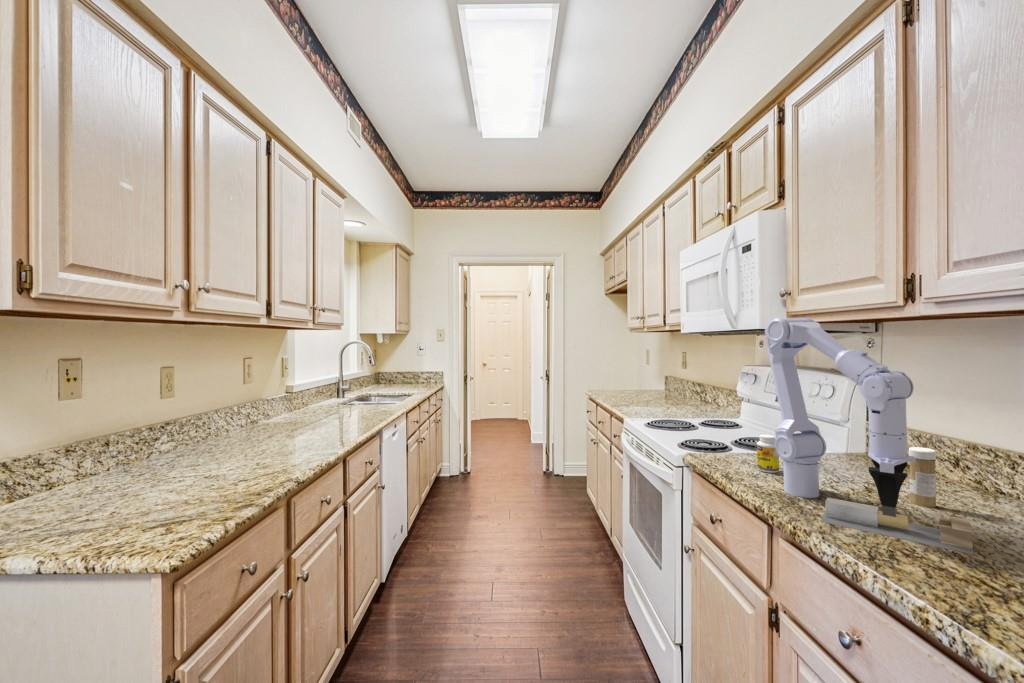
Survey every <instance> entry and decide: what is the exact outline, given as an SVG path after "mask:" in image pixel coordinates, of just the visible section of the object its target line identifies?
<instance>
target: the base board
mask: <svg viewBox="0 0 1024 683" xmlns="http://www.w3.org/2000/svg"><path fill="white" fill-rule="evenodd" d="M820 522H821V523H825V524H830V525H834V526H838V527H844V528H848V529H853V530H858V531H863V532H866V533H872V534H876V535H881V536H885V537H889V538H895V539H899V540H904V541H909V542H912V543H918V544H923V545H927V546H931V547H936V548H940V549H945V550H949V551H955V552H959V553H963V554H969V555H975V553H974V550H973V549H974V548H973V549H969V548H964V547H960V546H955V545H950V544H945V543H941V538H940V528H937V527H932V526H927V525H921V524H916V523H912V522H908V530H906V529H902V528H897V527H892V526H887V525H882V524H878V528H877V527H872V526H868V525H863V524H858V523H853V522H848V521H844V520H839V519H834V518H829V517H826V510H825V509H824V512H823V514H822V517H821V519H820Z"/></svg>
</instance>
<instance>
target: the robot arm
mask: <svg viewBox="0 0 1024 683" xmlns="http://www.w3.org/2000/svg"><path fill="white" fill-rule="evenodd" d="M764 335H765V339H766V345H767V355H768V356H767V357H768V360H769V364H770V371H771V373H772V374H771V375H772V379H773V383H774V387H775V393H776V397H777V401H778V405H779V409H780V417H781V418H782V419H781V420H782V422H781V423H780V424H779V425H778V426H777V427H776V428H775V429H774V433H775V448H776V451H777V453H778V454H779V458H780V460H782V461H783V464H782V466H783V491H784V493H786V494H789V495H791V496H794V497H798V498H804V499H805V498H807V499H815V498H818V497H819V496H820V476H819V475H820V473H819V471H820V469H819V462H821V458H822V457H824V455H825V454H826V452H827V443H826V440H825V438H823V436H822V434H821V431H820V429H819V425H818V426H817V424H815V423H814V422H812V421H811V420H810V419H809V417H808V412H807V408H806V404H805V399H804V396H803V395H804V394H803V391H802V387H801V383H800V378H799V372H798V369H797V365H796V360H795V357H796V356H797V354H798V353H799V352H800V351H802V350H803V349H804V348H805V347H806V346H808V345H809V346H811V347H813V348H814V349H816V350H817V351H819V352H820V353H822V354H823V355H826V356H827V357H828V358H830V359H832V360H833V361H835V368H836V370H838V371H839V372H840V373H842V374H843V375H844V376H846V377H847V379H850V381H852V382H853V383H855V384H856V385H857V386H859V389H860V393H861V395H862V396H863V397H864V399H865V403H866V404H865V405H866V407H867V409H868V439H869V440H868V441H869V443H868V444H869V446H868V447H869V451H868V457H869V458H870V459H871V462H872V464H873V465H874V466H869V467H868V473H869V474H870V476H871V478H872V479H873V481H874V484H875V486H876V490H877V493H878V498H879V502H880V504H881V506H888V507H893V508H896V509H897V504H898V503H899V502H898V501H899V496H900V492H901V491H900V490H901V487H902V485H903V484H904V482H905V481H906V479H907V478H908V473H907V472H904V471H905V470H906V468H907V467H908V462H909V463H910V462H915V457H914V456H909V455H908V438H907V437H908V433H907V432H908V430H907V428H908V426H907V424H908V423H907V399H908V398H910V397H912V395H913V393H914V383H913V381H912V379H911V378H910V377H909V376H908V375H907V374H906V373H905V372H903V371H900V370H893V371H892V370H890V369H889V367H888V366H887V365H885V364H881V363H880V362H877V361H876V360H875V359H873V358H871V357H870V356H869V352H867V351H866V350H864V349H856V348H852V349H848V348H847V347H846V346H845V345H843V344H842V343H840V342H839V341H838V340H837V339H835V338H834V337H833V336H832V335H831V334H829V333H828V332H827V331H825V330H824V329H823V328H822V325H821V324H820V323H819V322H817V321H815V320H814V319H812V318H811V317H797V318H794V317H793V318H782V317H775V318H773V319H771V320H770V321H769V323H768V325H767V326H766V328H765V329H764ZM796 432H797V433H796Z"/></svg>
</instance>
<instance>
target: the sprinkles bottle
mask: <svg viewBox="0 0 1024 683" xmlns="http://www.w3.org/2000/svg"><path fill="white" fill-rule="evenodd" d="M908 456H914V457H915V462H910V461H909V470H910V471H909V491H910V492H909V493H910V503H911V504H913V505H915V506H918V507H923V508H936V507H937V471H936V459H937V451H936V450H935V449H932V448H928V447H920V446H911V447H909V448H908Z"/></svg>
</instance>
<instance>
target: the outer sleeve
mask: <svg viewBox="0 0 1024 683" xmlns="http://www.w3.org/2000/svg"><path fill="white" fill-rule="evenodd" d="M825 499H826V500H825V503H824V504H825V506H824V507H825V509H824V511H825V510H826V517H829V518H834V519H839V520H844V521H848V522H853V523H858V524H863V525H868V526H872V527H877V528H878V514H877V512H878V511H879V506H876V505H869V504H866V503H865V504H864V503H859V502H853V501H850V500H849V501H848V500H843V499H838V498H832V497H826V498H825Z"/></svg>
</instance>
